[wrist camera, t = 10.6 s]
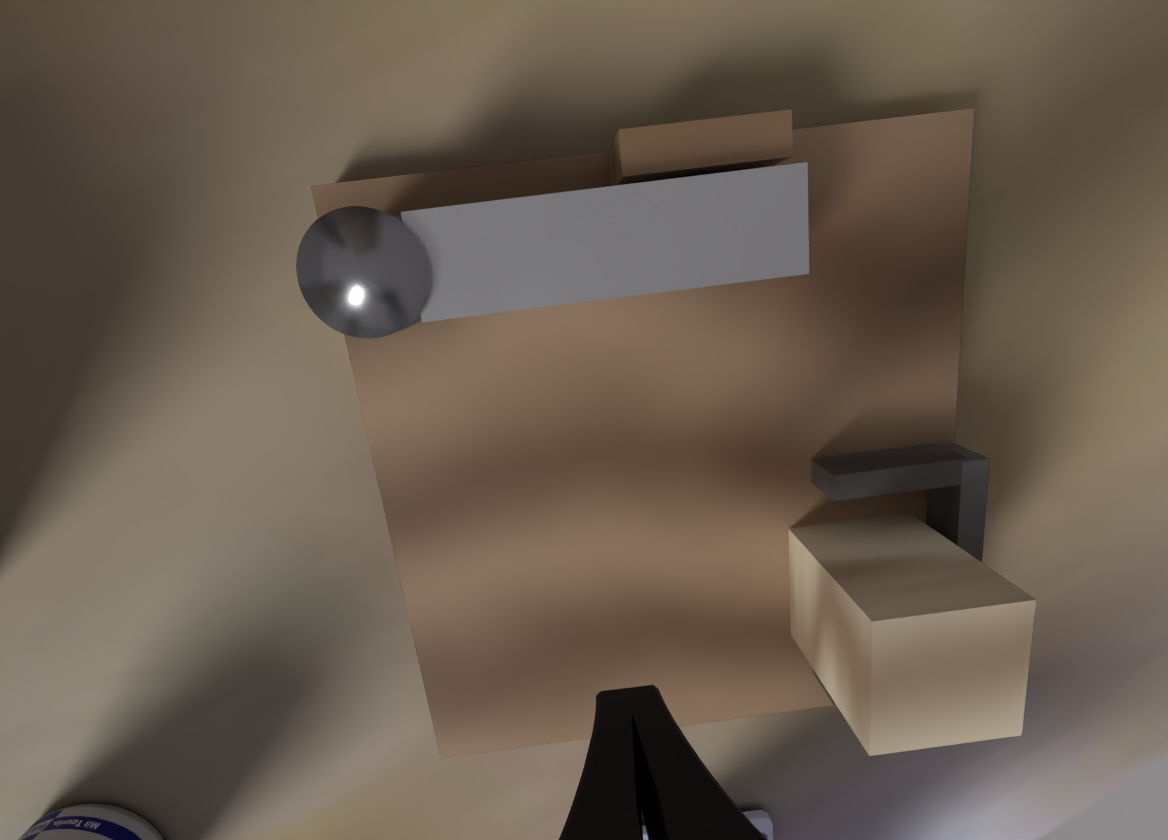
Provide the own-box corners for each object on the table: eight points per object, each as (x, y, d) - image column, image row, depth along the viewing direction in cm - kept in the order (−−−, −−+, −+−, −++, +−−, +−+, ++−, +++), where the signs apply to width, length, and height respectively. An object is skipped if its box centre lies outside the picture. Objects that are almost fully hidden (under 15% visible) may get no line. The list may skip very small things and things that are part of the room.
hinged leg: (364, 330, 16) (314, 345, 13) (341, 226, 15) (281, 214, 12) (762, 280, 16) (815, 282, 13) (758, 174, 15) (813, 149, 12)
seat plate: (918, 668, 21) (988, 745, 18) (447, 731, 21) (425, 822, 18) (944, 119, 16) (1049, 79, 13) (328, 191, 16) (265, 170, 13)
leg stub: (905, 619, 19) (1021, 735, 15) (790, 634, 19) (869, 756, 14) (909, 513, 18) (1035, 599, 13) (788, 528, 18) (872, 621, 13)
